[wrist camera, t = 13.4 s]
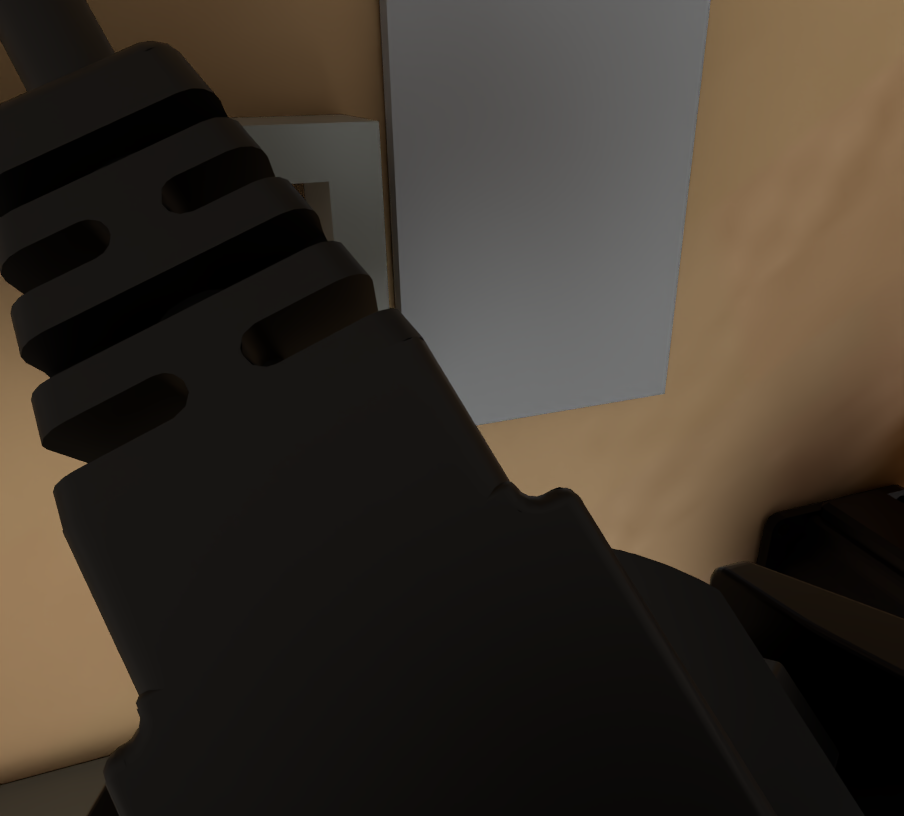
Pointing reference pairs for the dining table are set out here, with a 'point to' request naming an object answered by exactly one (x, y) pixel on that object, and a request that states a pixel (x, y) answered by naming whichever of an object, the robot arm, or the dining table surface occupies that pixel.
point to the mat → (541, 191)
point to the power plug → (331, 505)
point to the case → (343, 220)
